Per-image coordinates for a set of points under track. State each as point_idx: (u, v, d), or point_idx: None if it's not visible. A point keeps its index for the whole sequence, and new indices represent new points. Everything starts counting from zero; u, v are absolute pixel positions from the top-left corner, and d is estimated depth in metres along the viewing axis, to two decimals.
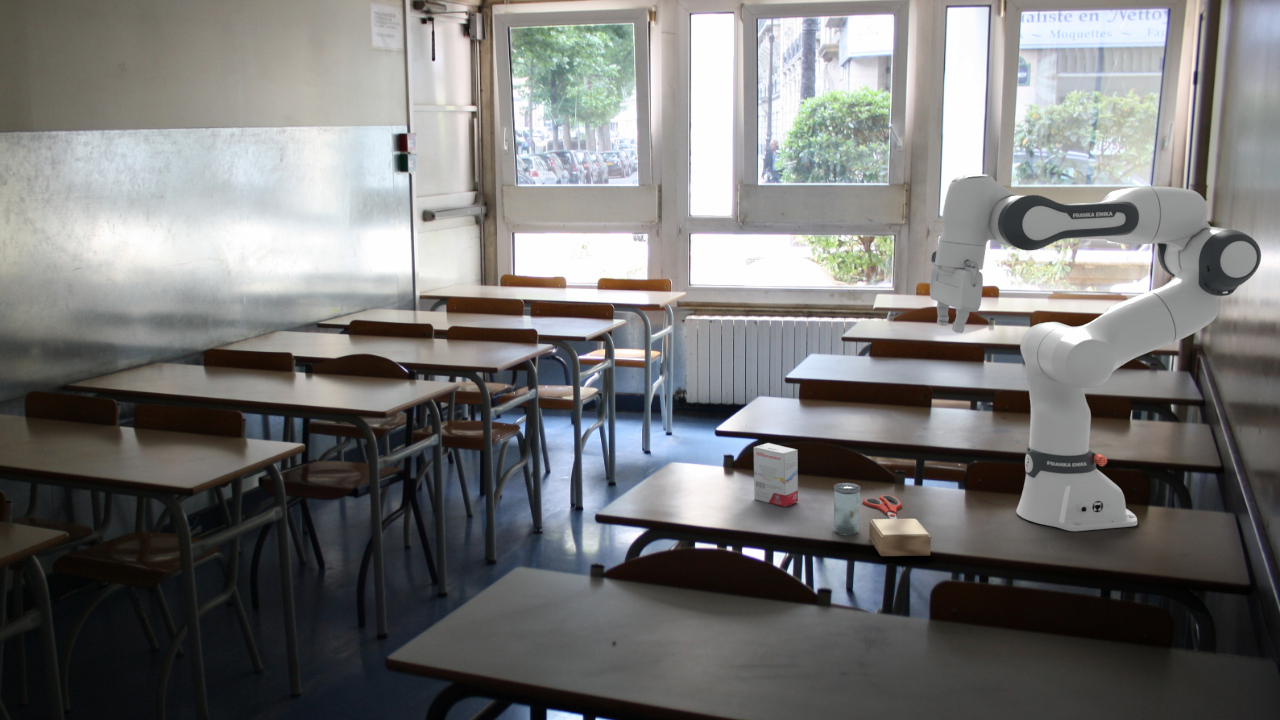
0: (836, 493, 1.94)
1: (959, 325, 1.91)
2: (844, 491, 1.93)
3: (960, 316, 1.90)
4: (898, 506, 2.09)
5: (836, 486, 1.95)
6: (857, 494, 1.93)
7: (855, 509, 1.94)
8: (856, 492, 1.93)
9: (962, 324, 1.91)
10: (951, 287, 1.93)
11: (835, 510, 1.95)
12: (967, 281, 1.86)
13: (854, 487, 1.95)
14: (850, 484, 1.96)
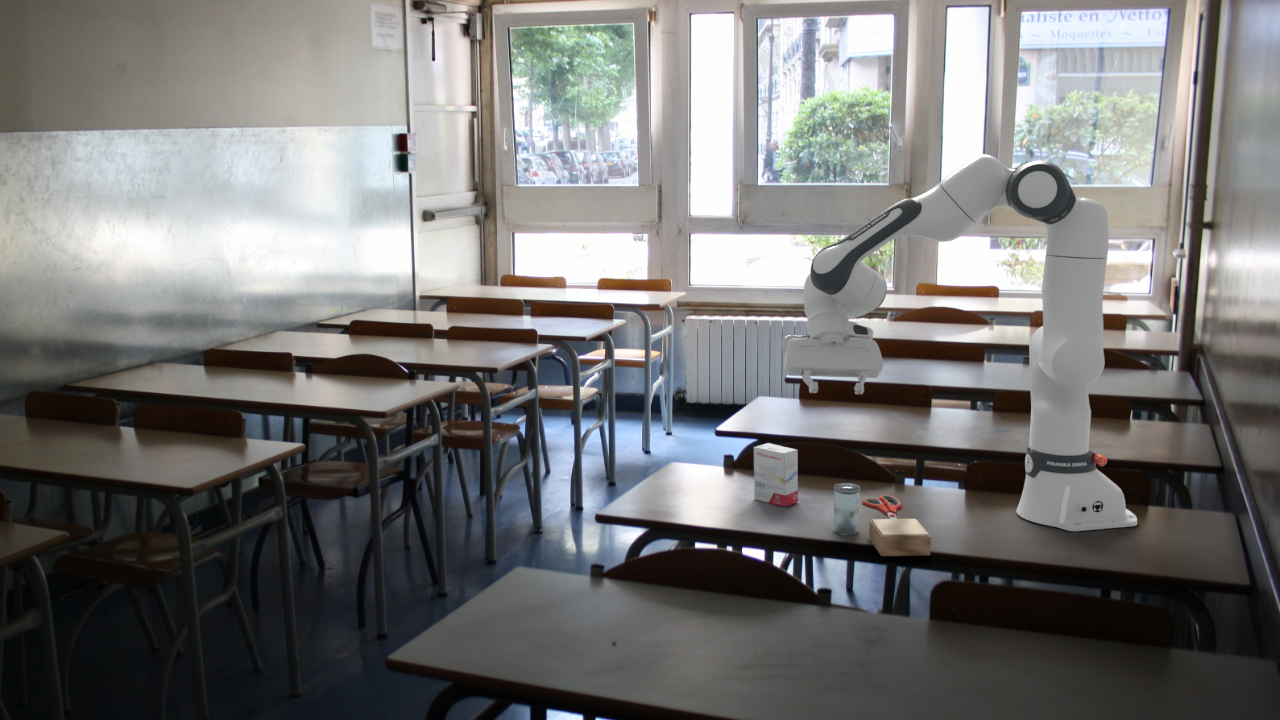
0: (836, 493, 1.94)
1: (809, 385, 2.04)
2: (844, 491, 1.93)
3: (803, 379, 2.05)
4: (898, 506, 2.09)
5: (836, 486, 1.95)
6: (857, 494, 1.93)
7: (855, 509, 1.94)
8: (856, 492, 1.93)
9: (809, 383, 2.04)
10: None
11: (835, 510, 1.95)
12: None
13: (854, 487, 1.95)
14: (850, 484, 1.96)
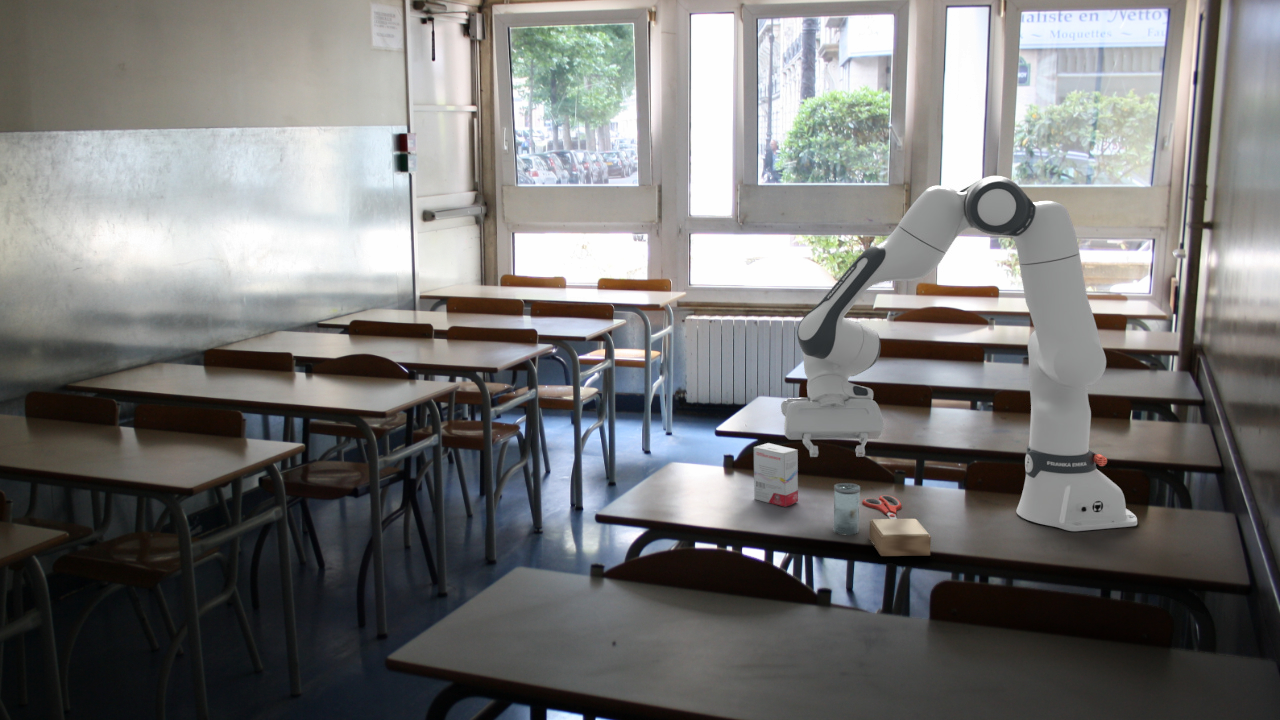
0: (836, 493, 1.94)
1: (810, 449, 2.04)
2: (844, 491, 1.93)
3: (804, 442, 2.05)
4: (898, 506, 2.09)
5: (836, 486, 1.95)
6: (857, 494, 1.93)
7: (855, 509, 1.94)
8: (856, 492, 1.93)
9: (809, 447, 2.04)
10: None
11: (835, 510, 1.95)
12: None
13: (854, 487, 1.95)
14: (850, 484, 1.96)
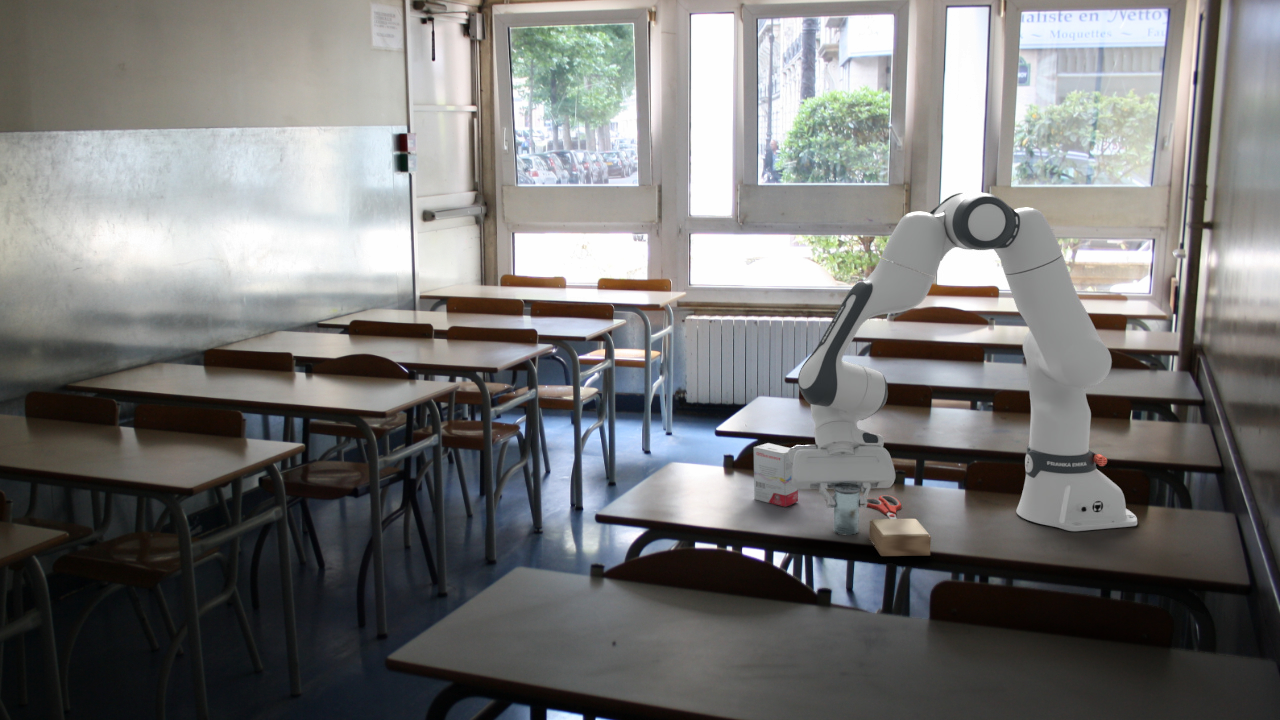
0: (836, 493, 1.94)
1: (826, 500, 1.96)
2: (844, 491, 1.93)
3: (820, 493, 1.97)
4: (897, 506, 2.09)
5: (836, 486, 1.95)
6: (857, 494, 1.93)
7: (855, 509, 1.94)
8: (856, 492, 1.93)
9: (826, 498, 1.95)
10: None
11: (835, 510, 1.95)
12: None
13: (854, 487, 1.95)
14: (850, 484, 1.96)
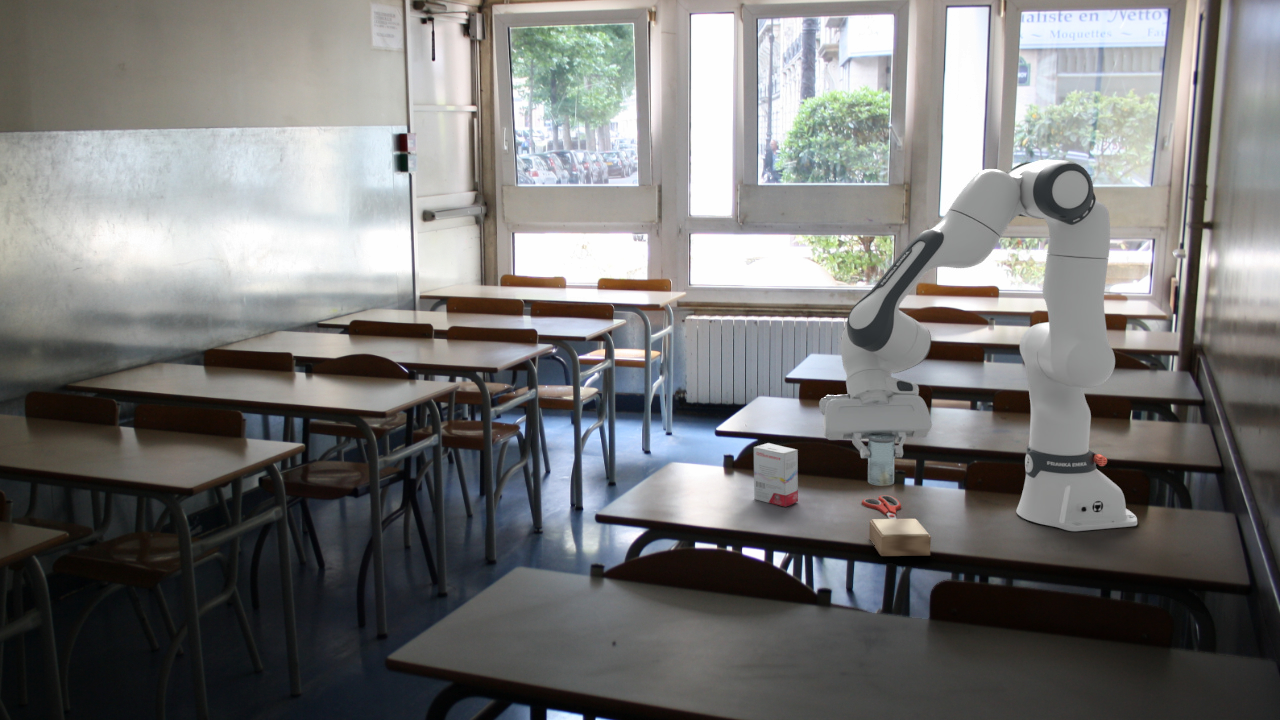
0: (870, 442, 1.87)
1: (860, 450, 1.89)
2: (879, 440, 1.86)
3: (854, 443, 1.90)
4: (897, 506, 2.09)
5: (870, 435, 1.88)
6: (892, 443, 1.86)
7: (890, 458, 1.87)
8: (891, 441, 1.86)
9: (860, 448, 1.89)
10: None
11: (869, 460, 1.88)
12: None
13: (889, 435, 1.88)
14: (885, 433, 1.89)
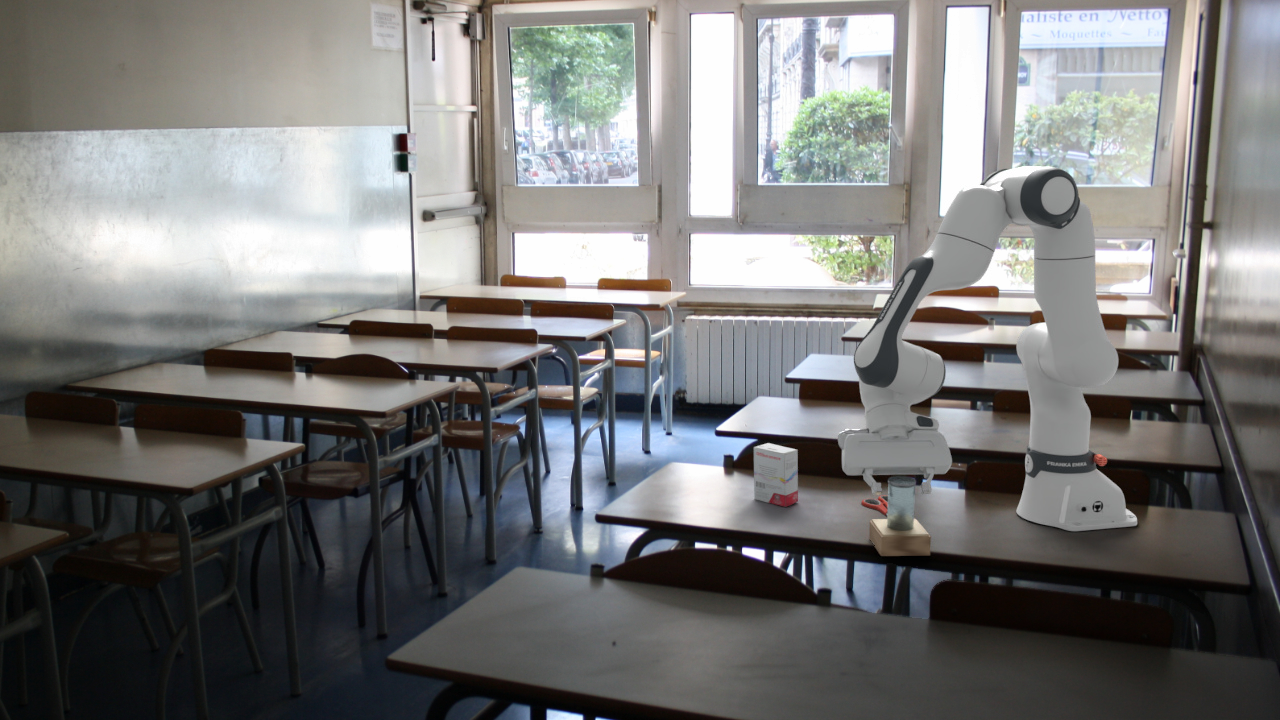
0: (890, 487, 1.85)
1: (872, 487, 1.86)
2: (900, 485, 1.83)
3: (865, 479, 1.87)
4: None
5: (890, 479, 1.86)
6: (913, 488, 1.84)
7: (910, 503, 1.84)
8: (912, 485, 1.83)
9: (872, 484, 1.86)
10: None
11: (889, 505, 1.85)
12: (842, 449, 1.92)
13: (909, 480, 1.85)
14: (905, 477, 1.87)
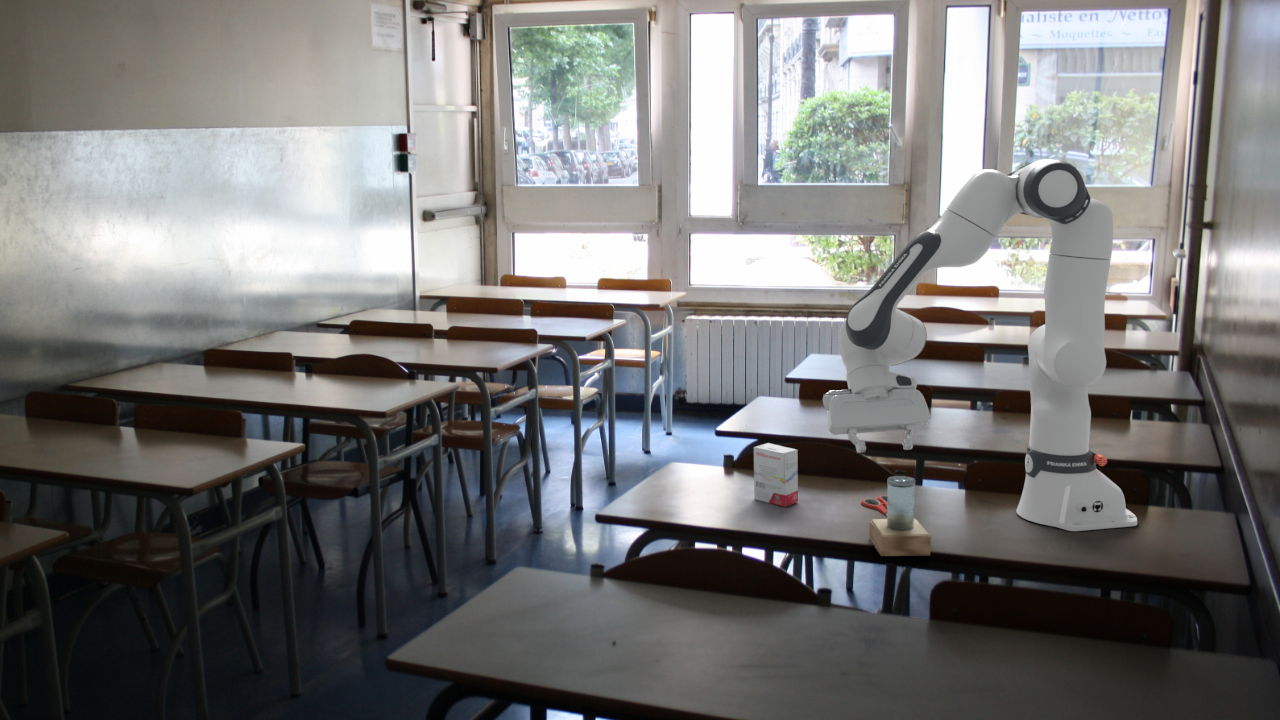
0: (890, 487, 1.85)
1: (856, 445, 1.97)
2: (899, 484, 1.83)
3: (849, 438, 1.99)
4: None
5: (889, 479, 1.86)
6: (912, 487, 1.84)
7: (910, 503, 1.84)
8: (911, 485, 1.84)
9: (856, 443, 1.97)
10: None
11: (889, 505, 1.85)
12: (827, 410, 2.02)
13: (909, 479, 1.85)
14: (904, 477, 1.87)
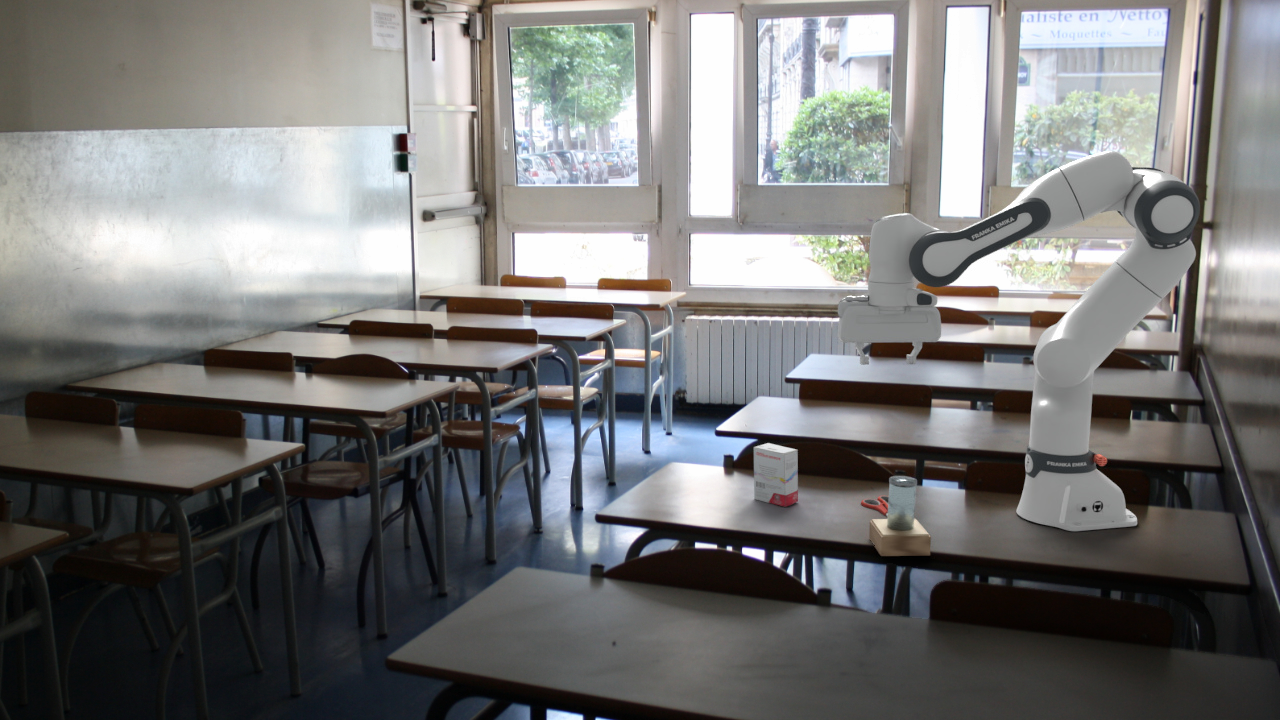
0: (892, 486, 1.85)
1: (860, 357, 2.02)
2: (901, 484, 1.83)
3: (856, 348, 2.02)
4: None
5: (891, 479, 1.86)
6: (914, 487, 1.84)
7: (911, 503, 1.84)
8: (913, 485, 1.84)
9: (861, 356, 2.01)
10: None
11: (890, 504, 1.85)
12: None
13: (911, 480, 1.85)
14: (906, 477, 1.87)
